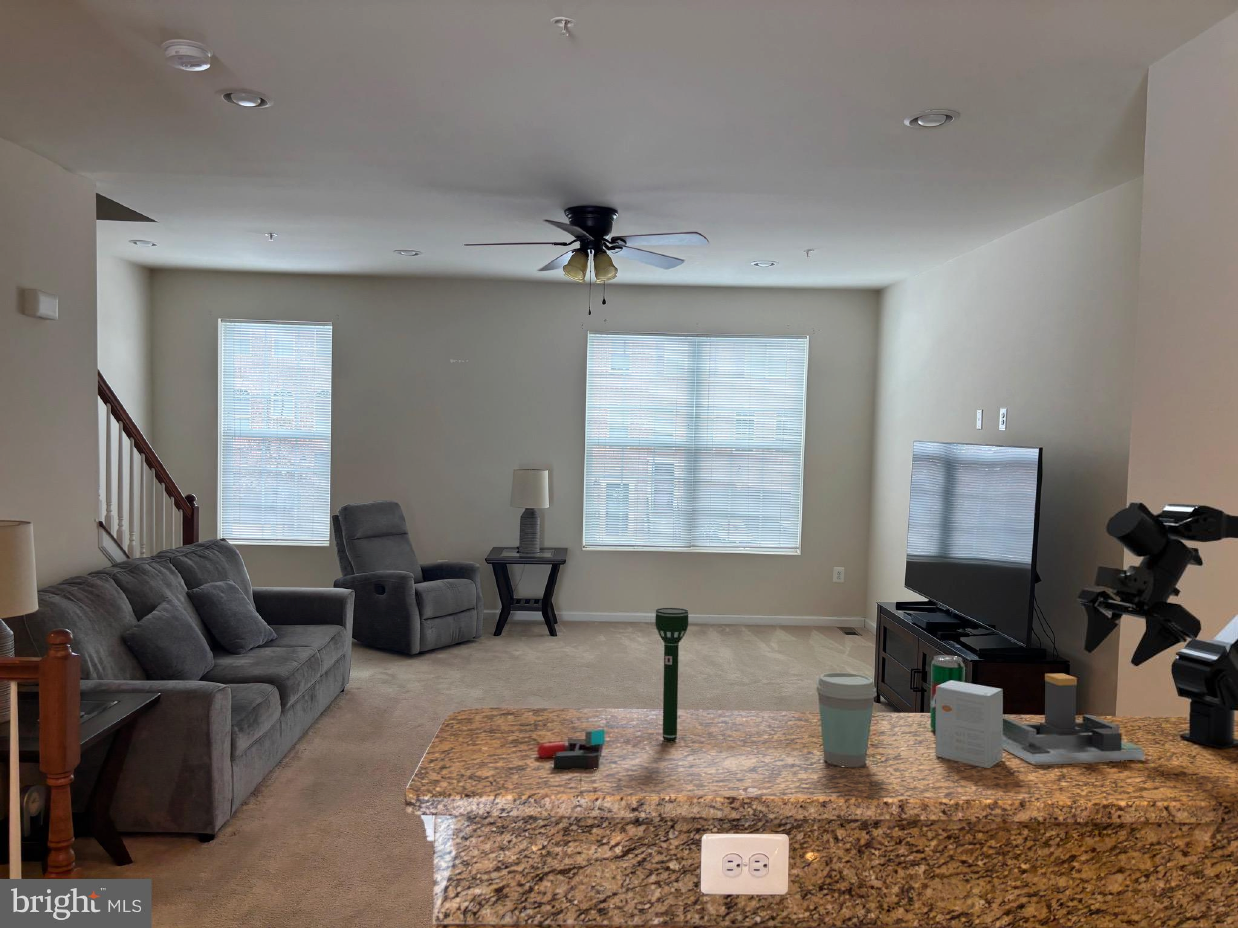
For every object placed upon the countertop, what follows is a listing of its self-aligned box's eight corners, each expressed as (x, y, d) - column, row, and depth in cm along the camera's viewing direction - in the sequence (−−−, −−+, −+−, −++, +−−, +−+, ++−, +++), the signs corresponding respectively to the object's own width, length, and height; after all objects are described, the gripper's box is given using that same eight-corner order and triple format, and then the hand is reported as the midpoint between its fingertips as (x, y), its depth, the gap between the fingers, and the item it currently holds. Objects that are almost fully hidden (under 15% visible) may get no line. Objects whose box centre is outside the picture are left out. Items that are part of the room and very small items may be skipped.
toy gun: (607, 746, 132) (607, 714, 132) (601, 774, 120) (602, 739, 120) (543, 744, 133) (544, 712, 133) (531, 771, 121) (532, 736, 121)
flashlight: (648, 742, 133) (650, 611, 133) (659, 733, 138) (662, 606, 138) (680, 747, 131) (682, 614, 131) (690, 737, 136) (692, 609, 136)
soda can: (966, 737, 139) (967, 662, 139) (932, 735, 140) (934, 660, 140) (960, 728, 144) (961, 655, 144) (928, 726, 145) (929, 653, 145)
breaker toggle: (1062, 732, 136) (1063, 672, 137) (1080, 740, 133) (1081, 678, 133) (1039, 733, 136) (1040, 673, 136) (1056, 741, 132) (1057, 679, 132)
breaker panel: (1082, 733, 142) (1083, 708, 142) (1144, 759, 129) (1144, 732, 129) (980, 737, 139) (981, 712, 139) (1033, 765, 126) (1034, 737, 126)
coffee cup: (879, 756, 129) (880, 675, 129) (870, 775, 121) (871, 688, 121) (821, 748, 132) (822, 668, 132) (808, 765, 124) (810, 680, 125)
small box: (1003, 760, 128) (1004, 688, 128) (989, 769, 124) (990, 695, 124) (949, 747, 134) (950, 678, 134) (934, 756, 129) (935, 685, 130)
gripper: (1078, 539, 144) (1030, 618, 142) (1174, 550, 126) (1121, 641, 124) (1124, 576, 146) (1078, 655, 144) (1225, 593, 128) (1174, 683, 126)
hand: (1109, 657), depth 134 cm, fingers open, 9 cm apart
